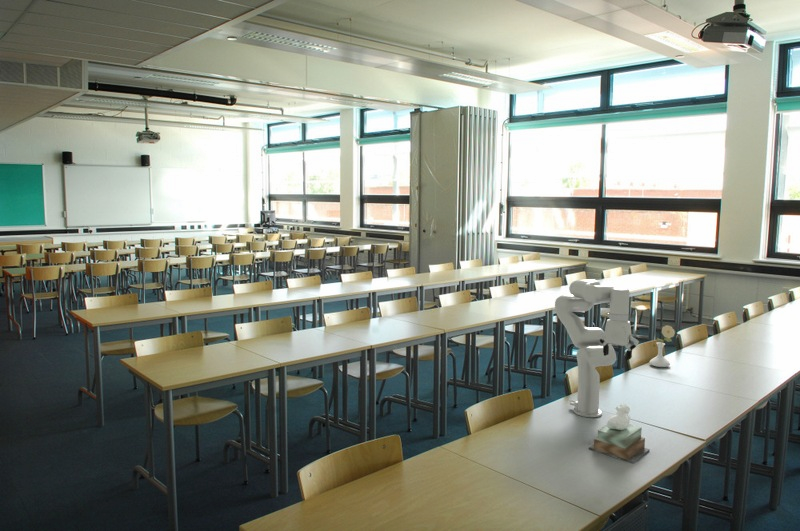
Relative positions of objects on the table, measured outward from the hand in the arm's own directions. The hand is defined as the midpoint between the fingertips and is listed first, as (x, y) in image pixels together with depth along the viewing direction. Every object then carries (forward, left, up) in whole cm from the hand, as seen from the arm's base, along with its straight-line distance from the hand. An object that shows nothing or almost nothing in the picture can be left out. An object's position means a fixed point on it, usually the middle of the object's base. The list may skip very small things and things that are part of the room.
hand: (617, 357), depth 246 cm
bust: (+10, -17, -24) cm, 31 cm away
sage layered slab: (+10, -18, -32) cm, 38 cm away
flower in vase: (-23, +115, -32) cm, 122 cm away
